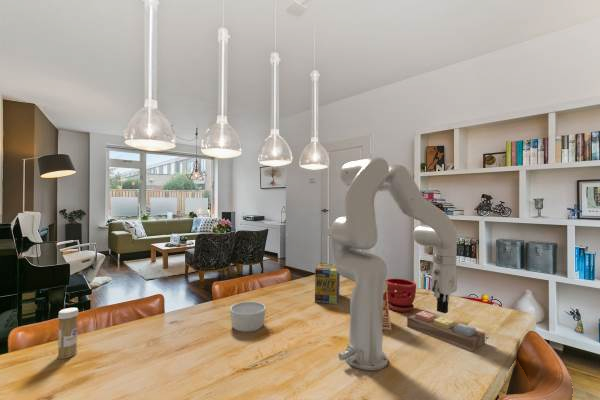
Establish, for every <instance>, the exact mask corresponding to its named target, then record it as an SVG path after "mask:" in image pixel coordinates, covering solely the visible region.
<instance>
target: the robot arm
mask: <svg viewBox="0 0 600 400" xmlns="http://www.w3.org/2000/svg"><path fill="white" fill-rule="evenodd" d="M339 175H340V179H341V181H342V183H343V184H344V185H345V186H346V187H348V188H347V190H346V193H345V197H344V209H345V210H344V211H345V215H342V216H339V217H337V218H336V219H335V220H334V221H333V223H332V224H331V228H330V243H331V251H332V256H333V262H334V263H333V264H335V268H336V270H337V272H338V273H339V274H340V277H342V278H345V279H347V280H350V281H352V282H354V284H355V286H354V287H353V289H352V291H351V294H350V297H349V298H350V299H349V306H350V307H349V308H350V309H349V310H350V311H349V343H348V344H347V348H346V349H345V350H344V351H342V352H339V353H338V354H337V355H338V359H339V361H346V362H347V363H348V364H349V365H351V366H352V367H354V368H356V369H358V370H359V369H360V370H363V371H379V370H382V369H383V368H385V367H386V366H387V365H388V356H387V354H386V353H385V352H384V351H383V330H384V329H383V292H384V285H385V281H386V280H387V275H388V268H387V264H386V263H385V260H384V259H382V258H381V257H380V256H379V255H376V254H374V253H371V252H367V251H366V250H371V249H373V248H374V247H375V246H376V244H377V243H378V228H377V226H378V225H377V221H376V213H375V198H376V194H377V192H388V193H389V195H390V196H391V198H392V200H393V201H394V202H395V204H396V205H397V207H398V209H399V211H400V212H401V213H402V214H403V215H405V216H407V217H409V218H411V219H414V220H416V221H419V222H422V223H424V224H421V225H418V226H416V227H415V229H414V230H413V233H412V236H413V237H412V238H413V240H414V241H415V243H416V244H418V245H421V246H424V247H430V248H432V249H433V251H432V264H433V266H432V271H431V281H430V283H431V284H430V285H431V286H430V289H431V292H433V297H435V298H436V311H437V312H439V313H442V314H447V313H448V312H449V301H450V296H451V294H454V293H455V292H457V289H458V288H457V286H458V281H457V280H458V277H457V252H458V251H457V249H458V248H457V247H458V239H459V237H458V229H457V228H456V227H455V225H454V223H453V221H452V219H451V218H450V217H449V216H448V215H447V213H445V212H444V211H443V210H442V209H440V208H439V207H438V206H436V205H434V204H433V202H431V201H429V200H428V199H426V198H425V196H424V195H423V193H422V192H421V189H420V188H419V186H418V185H417V183H416V181H415V179H414V178H413V176H412V174H411V173H410V172H409V169H408V168H407V167H405V166H404V165H402V164H389V163H388V161H387V160H386V159H384V158H382V157H375V156H374V157H367V158H362V159H357V160H352V161H349V162H346V163H345V164H343V166H342V167H341V169H340V173H339ZM361 250H362V251H361ZM364 250H365V251H364Z"/></svg>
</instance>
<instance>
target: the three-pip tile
mask: <svg viewBox="0 0 600 400" xmlns="http://www.w3.org/2000/svg"><path fill="white" fill-rule="evenodd" d="M415 314H416V319H419V320H422V321H425V322H428V323H429V322H432V321H433V320H434V319H435V317H436V314H433V313H431V312H427V311H425V310H421V311H419V312H417V313H415Z"/></svg>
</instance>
